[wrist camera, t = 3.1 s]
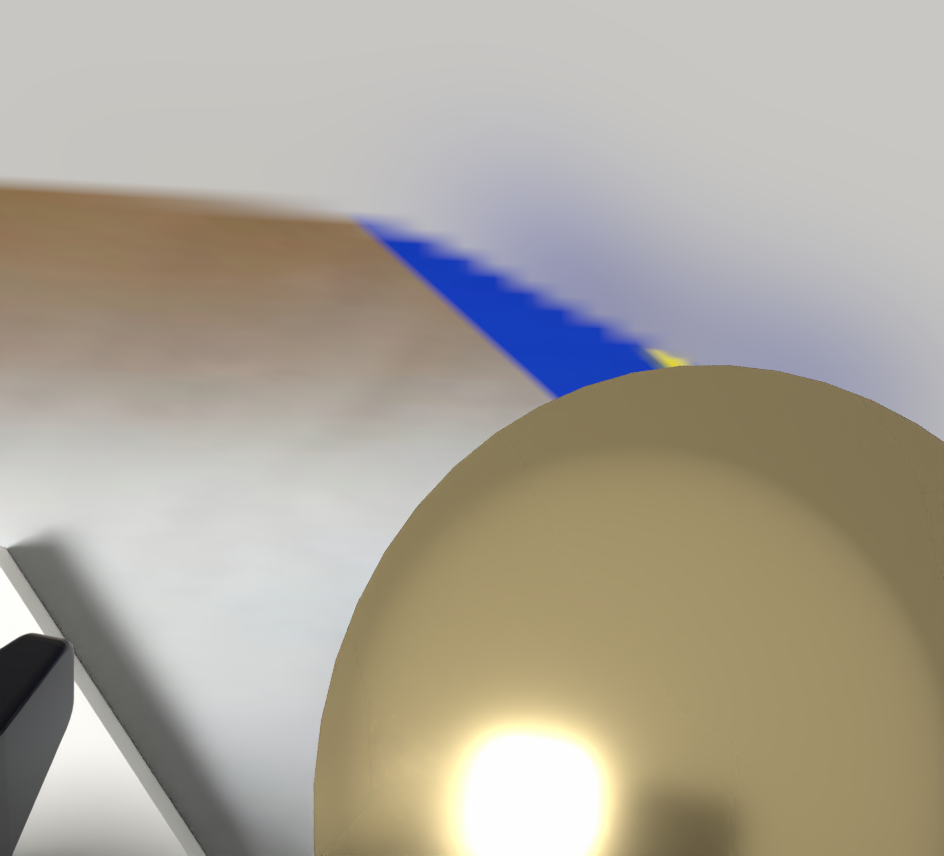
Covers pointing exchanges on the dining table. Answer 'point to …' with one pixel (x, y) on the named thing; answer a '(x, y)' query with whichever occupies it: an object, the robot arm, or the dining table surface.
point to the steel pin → (655, 636)
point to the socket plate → (89, 765)
